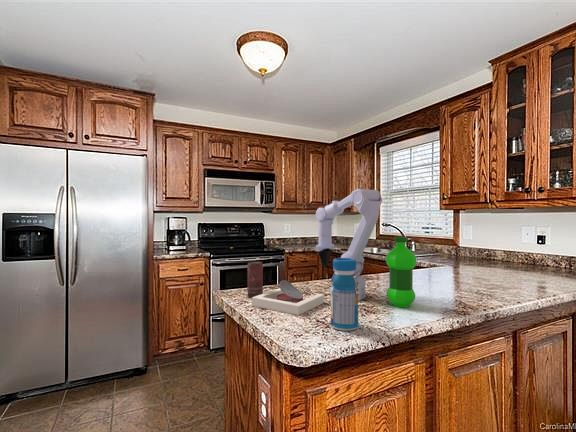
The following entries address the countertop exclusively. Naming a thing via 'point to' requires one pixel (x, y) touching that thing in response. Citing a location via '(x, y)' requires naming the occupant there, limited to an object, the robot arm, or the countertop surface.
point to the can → (255, 278)
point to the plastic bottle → (401, 274)
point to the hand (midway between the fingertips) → (324, 266)
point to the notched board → (298, 308)
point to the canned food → (289, 292)
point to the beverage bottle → (344, 295)
